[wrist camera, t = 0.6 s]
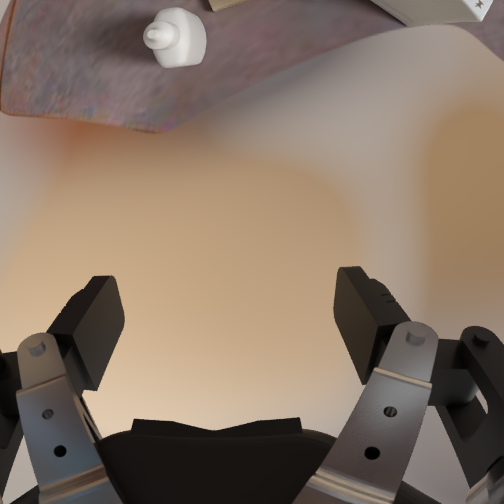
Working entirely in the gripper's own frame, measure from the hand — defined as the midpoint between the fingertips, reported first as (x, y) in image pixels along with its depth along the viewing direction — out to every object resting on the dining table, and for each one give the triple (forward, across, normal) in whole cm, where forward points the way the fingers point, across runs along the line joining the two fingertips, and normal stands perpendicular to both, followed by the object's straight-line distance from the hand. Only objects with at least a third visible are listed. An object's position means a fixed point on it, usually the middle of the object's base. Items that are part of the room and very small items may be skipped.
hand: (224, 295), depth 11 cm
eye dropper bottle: (+25, +4, -15) cm, 29 cm away
